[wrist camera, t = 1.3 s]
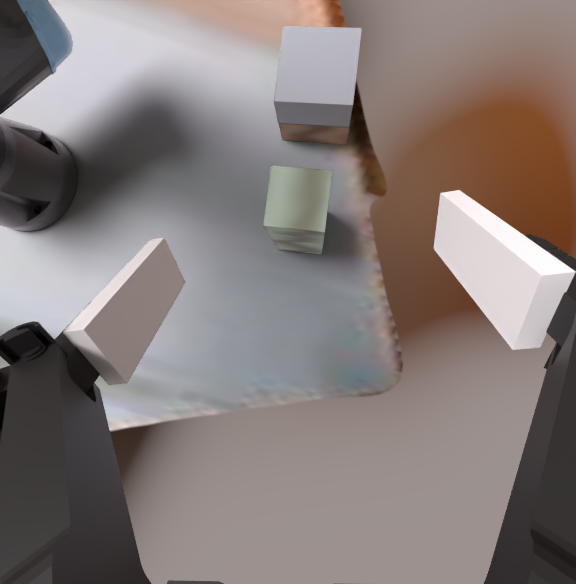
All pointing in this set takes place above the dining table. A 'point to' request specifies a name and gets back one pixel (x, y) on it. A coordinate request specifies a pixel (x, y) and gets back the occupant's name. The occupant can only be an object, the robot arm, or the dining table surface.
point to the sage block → (297, 208)
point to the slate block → (317, 75)
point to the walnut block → (314, 133)
